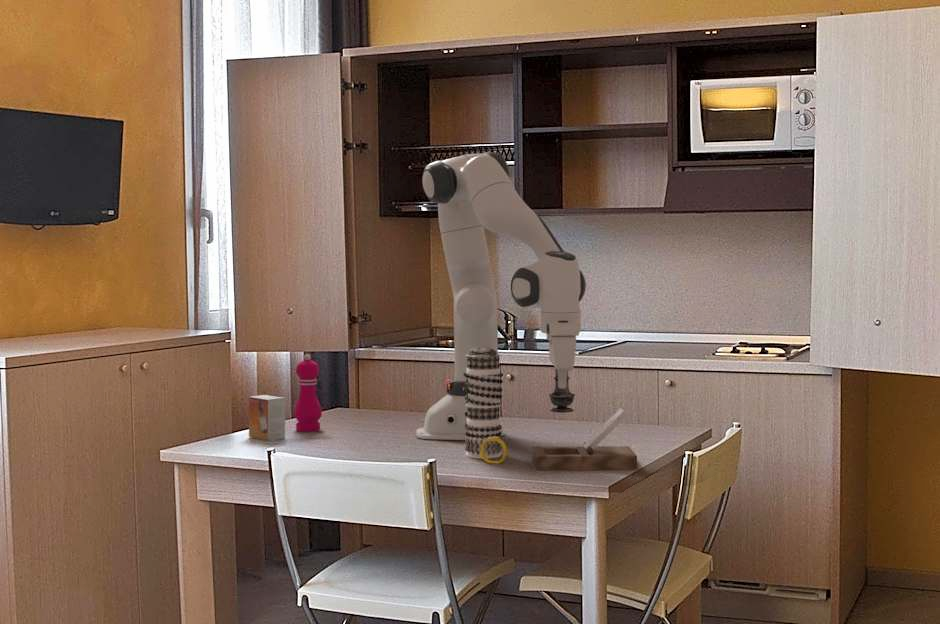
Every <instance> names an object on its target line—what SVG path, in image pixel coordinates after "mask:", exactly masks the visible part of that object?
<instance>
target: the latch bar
mask: <svg viewBox="0 0 940 624" xmlns="http://www.w3.org/2000/svg"><path fill="white" fill-rule="evenodd" d="M627 416H628V414H627V413H626V412H625V410H624V409H622V408H621V407H620V408H619V409H618V410H617V411H616V412H614V414H612V415H611V416H610V418H609V419H608V420H607V421H606V422H605V423H604V424H602V426H600V427H599V429H598V430H596V431H595V433H593V435H591V436H590V437H589V439H587V440H586V441H585V442H586V443H585V444H584V445H583V444H582V446H584V448H585V449H586V450H587V449H588V448H592V449H594V448H595V447H596V446H599V444H600V443H601V442H602V441H603V440H604V439H605V438H607V436H608V435H609V434H610V433H611V432H612V431H613V430H614V429H615V428H616V427H618V425H619V424H620V423H621V422H622V421H623V420H624V419H625V418H627Z"/></svg>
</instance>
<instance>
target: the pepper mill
mask: <svg viewBox="0 0 940 624" xmlns="http://www.w3.org/2000/svg"><path fill="white" fill-rule="evenodd" d="M303 359H304V360H301V361H300V362H298V363H297V365H296V367H295V372H296V375H297V376H298V379H297V384H298V386H299V396H298V400H297V402H296V404H295V406H294V411H293V413H294V414H293V415H294V416H293V417H294V418H295V419H296V420H297V423H296V424H295V429H296V431H297V432H300V433H301V432H305V433H310V432H319V431H320V430H321V423H320V422H319V420H320V419H321V417H322V415H323V413H322V407H321V404H320V401H319V399H318V397H317V391H316V390H317V389H316V385H318V378H317V376H319V373H320V366H319V365H318V363H317V362H315V361H314V360H311V359H312V357H311V355H310V354H308V353H307V354H304V356H303Z"/></svg>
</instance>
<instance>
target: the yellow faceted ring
mask: <svg viewBox="0 0 940 624" xmlns="http://www.w3.org/2000/svg"><path fill="white" fill-rule="evenodd" d="M488 441H497V442H499V443H500V444H501V445H500V446H501V447H502V450H503V455H502V456H501V459H500V460H491V459H490V458H487V457H486V455H485V452H484V448H485V445H486V443H487V442H488ZM507 447H508V446H507V445H506V444H505V442H504V441H503V439H501V436H499V437H498V436H491V437H488V439H487V440H486V441H484V442H483V444H482V446H481V455H482V458H483V461H485V463H487V464H498V465H499V464H501V463H503V462H504V461H505V460H506V458H507V456H508V448H507Z"/></svg>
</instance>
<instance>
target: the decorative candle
mask: <svg viewBox="0 0 940 624" xmlns="http://www.w3.org/2000/svg"><path fill="white" fill-rule="evenodd" d="M466 356H467V374H466V373H464V374H463V375H464V376H465V377H466V378H467V379H466V380H464V384H465V385H466V387H464V391H466V392H467V393H468V394H467V395H465V400H467V402H465V403H466V406H467V407H468V411H467V412H468V417H467V425H466V427H465V428H466V429H467V430H468V431H467V432H466V433H465V435H466V436H468V438H467V439H466V440H464V441H465V442H464V443H465V447H464V450H465V451H466V452H465V456H466V457H467V458H471V459H480V460H482V459H483V458H482V455H481V446H482V444H483V442H484V441H486V440H487V439H488V437H491V436H498V437H502V436H503V435H502V433H501V432H500V431H499V430H500V429H501V428H503V425H502V426H501V425H500V419H501V416H500V417H499V413H500V407H502V403H501V402H500V400H502V398H503V395H502V394H501V392H503V388H502V387H500V388H499V384H500V385H501V384H502V383H504V381H503V380H502V379H501V378H502V377H504V373H503V372H501V367H500V356H501V354H500V353H499V352H498V353H497V352H496V350H495V349H494V348H473V349H471V350H470V352H469V353H468V354H467V355H466ZM467 382H468V383H467ZM499 392H500V394H499ZM501 435H502V436H501ZM502 450H503V447H502V445H501V444H500V443H499V442H497V441H488V442H487V443H486V445H485V448H484V452H485V455H486V457H487V458H488V459H496V458H500V457H502V452H501V451H502ZM483 460H484V459H483Z"/></svg>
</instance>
